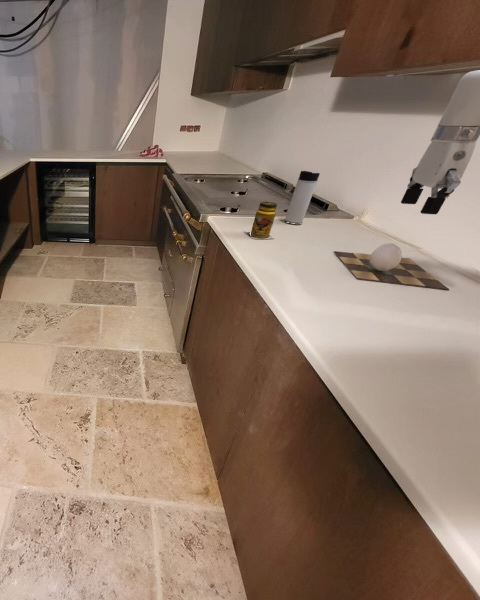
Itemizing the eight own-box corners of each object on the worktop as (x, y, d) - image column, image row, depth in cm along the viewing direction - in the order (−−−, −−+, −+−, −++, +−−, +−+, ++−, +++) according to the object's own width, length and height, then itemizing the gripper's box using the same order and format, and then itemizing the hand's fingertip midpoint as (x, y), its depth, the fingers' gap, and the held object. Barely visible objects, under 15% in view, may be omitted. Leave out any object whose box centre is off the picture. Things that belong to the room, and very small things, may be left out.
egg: (367, 272, 91) (380, 245, 87) (362, 263, 95) (375, 238, 91) (396, 276, 88) (411, 250, 84) (390, 267, 93) (404, 242, 89)
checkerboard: (408, 259, 99) (409, 258, 98) (448, 290, 83) (449, 288, 82) (333, 252, 104) (334, 250, 104) (356, 279, 88) (357, 277, 88)
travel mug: (280, 221, 131) (297, 170, 121) (290, 219, 134) (307, 168, 123) (295, 226, 126) (313, 172, 116) (305, 223, 129) (324, 170, 119)
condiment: (253, 239, 115) (263, 205, 108) (243, 231, 122) (252, 199, 116) (274, 239, 114) (285, 205, 108) (262, 231, 122) (272, 199, 115)
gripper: (505, 137, 66) (457, 219, 75) (453, 131, 80) (417, 201, 89) (459, 137, 68) (417, 217, 77) (415, 132, 82) (384, 199, 91)
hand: (417, 208), depth 83 cm, fingers open, 9 cm apart
